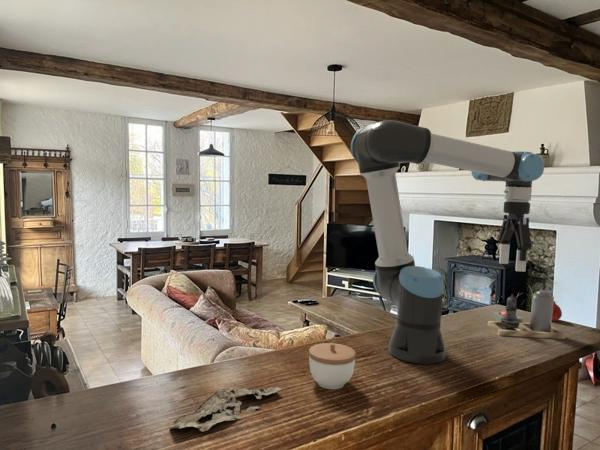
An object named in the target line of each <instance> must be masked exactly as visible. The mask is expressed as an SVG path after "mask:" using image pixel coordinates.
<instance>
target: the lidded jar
mask: <svg viewBox="0 0 600 450" xmlns="http://www.w3.org/2000/svg"><path fill="white" fill-rule="evenodd" d="M308 356H309V357H308V360H309V362H308V363H309V364H308V365H309V370H310V373H311V376H312V378H313V380H314V381H315V382H317V385H318V386H319V387H321V388H323V389H326V390H340V389H342V388H343V387H344V386H345V385H346V384H347V383H348V382H349V381H350V380H351V378H352V376H353V373H354V371H355V364H356V358H357V353H356V351H355V350H354V348H352V347H350V346H349V345H345V344H341V343H333V342H324V343H317V344H314V345H312V346H311V347H309V350H308Z"/></svg>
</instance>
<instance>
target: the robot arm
mask: <svg viewBox="0 0 600 450" xmlns="http://www.w3.org/2000/svg"><path fill="white" fill-rule="evenodd" d="M350 152H351V155H352V156H351V157H353V160H355V162H357V164H358V165H357V166H358V168H359V169H358V171H359V175H360V176H362V177H364V179H365V181H366V186H367V191H368V192H367V193H368V198H369V204H370V205H369V206H370V210H371V215H372V216H371V217H372V223H373V227H374V235H375V240H376V247H377V253H378V258H377V259H376V260H375V262H374V265H375V271H374V273H373V277H372V282H373V283H372V284H373V287H374V289H375V291H376V292H377V294H378V295H379V296H380V297H381V298H382V299H383V300H385V301H387V302H389V303H391V304H393V305H394V306H396V307H397V314H396V325H395V327H394V329H393V331H392V335H391V337H390V339H389V343H388V353H389V354H390V355H391V356H393V357H394V358H396V359H399V360H401V361H403V362H407V363H414V364H420V365H432V364H433V365H434V364H439V363H441V362H443V361H444V360H445V358H446V350H447V349H446V346H445V342H444V339H443V334H442V330H441V323H442V322H441V321H442V312H443V311H442V310H443V309H442V308H443V294H444V290H445V287H444V278H443V276H442V274H441V273H440V272H438V271H436V270H435V269H432V268H426V267H424V266H419V265H418V266H416V264H415V258H414V256H413V255H412V254H410V253H409V251H408V246H407V241H406V240H407V238H406V231H405V226H404V221H403V219H404V218H403V214H402V213H403V212H402V207H401V200H400V194H399V188H398V181H397V180H398V179H397V175H396V174H397V172H398V170H399V169H400V168H401V167H400V163H408V164H409V163H410V164H415V165H421V164H423V163H428V164H429V163H430V164H434V165H439V166H440V165H441V166H444V167H449V168H453V169H458V170H459V169H460V170H464V171H470V172H471V175H472V177H473V179H475V180H477V181H482V182H505V186H504V187H505V189H504V190H503V193H504V200H506V201H504V203H503V213H505V214H503V220H502V224H501V228H500V231H499V235H498V238H497V240H498V242H499V243H500V249H499V262H498V263H499V264H503V265H508V264H509V261H510V260H509V259H510V247H511V239H512V236H513V235H514V234H515V238H516V243H517V248H516V258H515V271H516V272H525V273H526V270H527V269H526V267H527V258H528V257H527V256H528V251H529V250H531V249H532V240H531V233H530V232H531V231H530V218H529V217H525V215H529V214H530V211H531V203H530V202H531V201H532V192H533V190H532V189H533V188H532V187H533V186H532V185H533V181H537V180H538V179H540V178H541V177H542V176H543V174H544V170H545V162H544V159H543V157H541V156H540V155H539V154H538V153H533V152H531V151H519V150H518V151H510V150H507V149H501V148H498V147H497V148H496V147H492V146H488V145H484V144H479V143H474V142H470V141H466V140H462V139H457V138H452V137H450V136H449V137H448V136H445V135H441V134H436V133H432V131H431V130H430V129H429V128H427V127H424V126H419V125H414V124H411V123H408V122H404V121H403V122H402V121H399V120H393V119H385V120H382V121H378V122H374V123H371V124H367V125H365V126H363V127H361V128H359V129H358V130H357V131H356V132H355V134H354V135H353V137H352V139H351V142H350ZM529 201H530V202H529Z"/></svg>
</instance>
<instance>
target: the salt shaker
mask: <svg viewBox="0 0 600 450" xmlns="http://www.w3.org/2000/svg"><path fill="white" fill-rule="evenodd" d="M517 302H518V301H517V298H516V297H514V294H513V293H512V294H511V296H508V297H507V299H506V306H505V307H504V308H505V311H506V315H505V317H502V318H501V322H502V325H503V326H504V327H503V328H501V329H502V330H516V329H514V328H517V327H518V326H519V323H520V322H521V321H520V320H518V319H517V318H516V315H517V310H518V308H517Z"/></svg>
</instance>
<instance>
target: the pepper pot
mask: <svg viewBox="0 0 600 450" xmlns="http://www.w3.org/2000/svg"><path fill="white" fill-rule="evenodd" d="M554 301H555V297H554V296H553V295H552V294H551V293H550V292H549V291H548V290H544V289H541V290H537V291H536V292H535V293H532V299H531V309H530V311H531V312H530V321H529V323H530V329H531V330H532V331H537V332H551V325H552V322H553V321H552V313H553V303H554Z"/></svg>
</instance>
